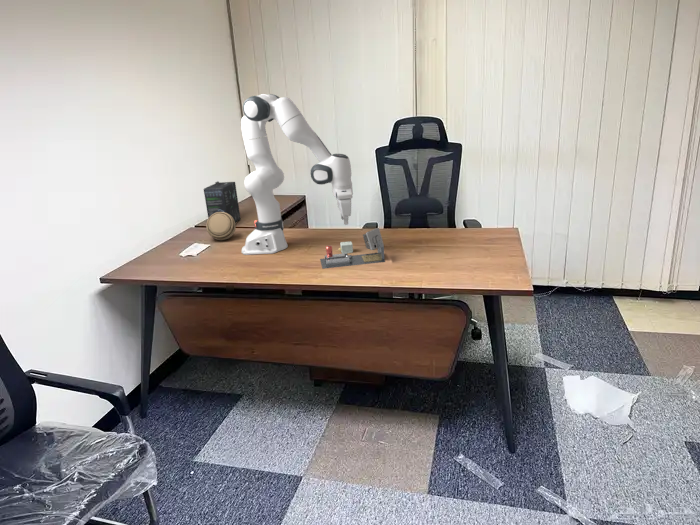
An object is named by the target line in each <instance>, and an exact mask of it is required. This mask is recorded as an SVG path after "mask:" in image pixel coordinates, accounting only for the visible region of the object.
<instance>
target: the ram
mask: <svg viewBox="0 0 700 525" xmlns="http://www.w3.org/2000/svg"><path fill="white" fill-rule="evenodd" d="M325 252H326V260H328V259H337V258H346V257H349V259H352V254H348V255H345V254H342V253H336V254H335V253H333V245H325ZM334 254H335V255H334Z"/></svg>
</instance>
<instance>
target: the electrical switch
mask: <svg viewBox="0 0 700 525" xmlns="http://www.w3.org/2000/svg"><path fill="white" fill-rule="evenodd" d="M362 237H363V240H364V244H365V248H366V250H370V251H375V250H376V249H377V241H380V242H381V243H382V245H383V246H384V241H383V237H382V234H381V230H380V228H379V227H376V228H373V229H372V230H369V231H367V232H365V233H364V234H362Z"/></svg>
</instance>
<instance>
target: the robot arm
mask: <svg viewBox="0 0 700 525" xmlns="http://www.w3.org/2000/svg"><path fill="white" fill-rule="evenodd" d="M242 112H243V114H244V115H243V116H242V118H241V120H240V127H241V135H242V136H241V137H242V140H243V144H244V148H245V153H246V157H247V159H248V160H249V161H251V162H252V164H253V166H254V168H255V170H254V171H252V172H250V173H249V174H248V175H246V176H245V178H244V181H243V185H244V189H245V190H246V191H247V192H248V194H250V195H251V197H252V198H253V201H254V204H255V207H256V213H257V219H258V220H256V219H255V220H254V222H253V224H254V229H253V231H252V232H250V233H249V234H248V235H247V236H246V239H245V244H244V246H242V248H241V254H242V255H245V256H246V255H265V254H267V255H268V254H275V253H277V252H280V251H284V250H285V249H287V248H288V243H287V240H286V237H285V233H284V221H283V218H282V215H281V213H282V212H281V205H280V202H279V201H278V200H277V199H276V197H275V195H274V192H273V190H276V189H278V188H279V187H280V186H281V185H282V184H283V183H284V180H285V173H284V172H283V170H282V169H281V168H280V167H279V166H278V164H277V162H276V161H275V158H274V156H273V154H272V151H271V147H270V144H269V139H268V134H267V129H266V124H267V123H268V122H269V123H270V122H272V121H274V120H275V121H276V122H277V124H278V126H279V127H280V130H282V132H283V134H284V135H285V136H286V138H287V139H288V140H290V141H292V142H294V143H297V144H301V145H304V146H306V147H307V148H309V150H311V152H312V153H313V154H314V156H315V157H316V160H318V163H316V164H314V165H313V166H311V169H310V177H311V180H312V181H313V182H314V183H315V184H316V185H326V184H331V189H332V190H331V191H332V197H335V200H336V201H337V203H336V205H337V208H338V210H339V212H340V219H341V220H343V225H345V226H348V225H349V217H350V216H351V215H352V199H353V194H354V193H353V182H352V168H351V161H350V158H349V156H348V155H347V154H343V153H333V154H332V153H331V152H330V151H329V149H328V147H327V146H326V145H325V143H324V142H323V141H322V139H321V138H320V136H318V134H317V133H316V132H315V131H314V130H313V128H312V127H311V126H310V124H309V123H308V121H307V120H306V119H305V117H304V116H303V113H302V112H301V111H300V110H299V107H298V106H297V105H296V104H295V103H294V102H293V101H292V100H291V99H290V97H287V96H282V97H279V95H277V94H273V93H267V94H266V93H262V94H258V95H252V96H249V97H248V98H247V99H245V100H244V102H243V106H242Z"/></svg>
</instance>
